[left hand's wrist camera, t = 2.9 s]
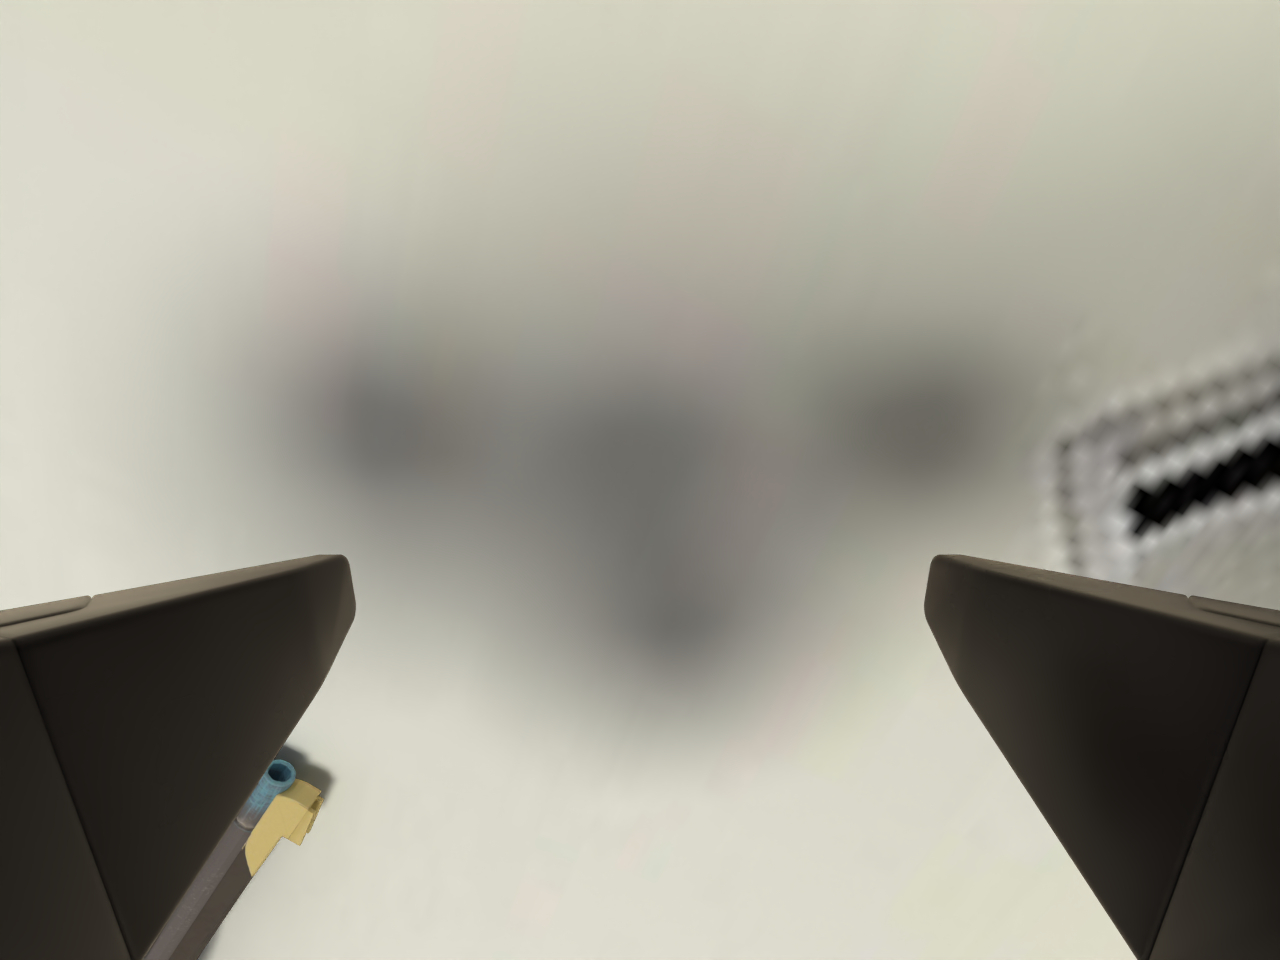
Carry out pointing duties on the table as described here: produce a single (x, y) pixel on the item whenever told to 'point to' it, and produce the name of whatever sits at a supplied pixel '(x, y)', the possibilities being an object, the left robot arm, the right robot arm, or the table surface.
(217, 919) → the toy gun
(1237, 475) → the table surface
